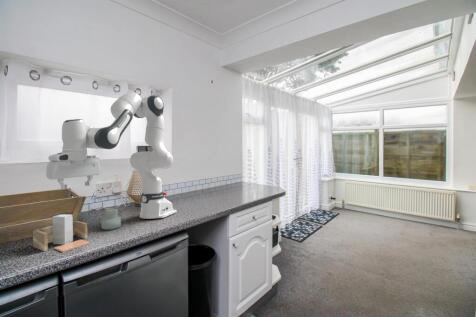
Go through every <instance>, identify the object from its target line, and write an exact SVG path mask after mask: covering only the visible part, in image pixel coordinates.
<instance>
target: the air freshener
mask: <svg viewBox="0 0 476 317" xmlns="http://www.w3.org/2000/svg"><path fill="white" fill-rule="evenodd" d="M121 226H122V217H121V216H119V210H118V208H114V207H113V208H107V209H105V210H104V218H102V220H101V229H102V230H105V231H110V230H111V231H113V230H115V229H119V228H120V227H121Z"/></svg>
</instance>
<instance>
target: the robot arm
mask: <svg viewBox="0 0 476 317" xmlns="http://www.w3.org/2000/svg"><path fill="white" fill-rule="evenodd" d="M164 108H165V105H164V102H163V99H162V98H161V97H160V96H159V95H153V94H152V95H149V96H145V97H142V98H141V96H140V95H139V94H138V93H136V92H134V91H129V92H126V93H124V94H123V95H121V96H119V97H118V98H117V99H116V100H115V101H114V102H113V103H112V104H111V106H110V113H111V115H112V117H113V118H114V120H113V121H112V123H111V124H110V125H108V126H104V127H94V126H92V125H90V124H88V123H87V122H86V121H85V120H84V119H80V118H77V119H76V118H75V119H66V120H64V121H63V123H62V124H61V141H62V147H61V152H58V153H55V154H51V155H49V156H48V162H47V165H46V169H45V170H46V171H45V172H46V173H45V175H46V178H47V179H48V180H56V181H57V182H58V184H59V185H60V189H61V190H67V189H68V185H67V184H65V183H64V181H65V179H71V178H79V177H80V178H81V177H86V178H87V179H86V181H84V186H85V187H89V186H91V181H93V178H94V176H99V175H100V174H102V173H101V172H102V171H101V170H102V169H101V164H100V158H99V156H97V155H88V149H102V150H103V149H104V150H112V149H115V148H116V147H117V146H118V144H119V142H120V140H121V138H122V135H123V133H124V132H125V131H126V129H127V128H128V127H129V125H130V124H131V123H132V121H133V118H134V117H135V118H136V119H143V118H145V119H146V122H147V123H146V126H145V127H146V128H145V135H144V141H145V143H146V145H148V146H150V148H152V151H146V150H145V151H137V152H133V153H132V154H131V156H130V158H129V163H130V166H131V167H132V168H133V169H134V170H135V171H136V172H137V173H138V175H139V177H140V179H141V186H142V187H141V188H142V189H141V190H142V193H141V208H140V214H139V218H140V219H164V218H167V217H169V216H170V215H173V214H176V213H177V209H174V208H173V203H172V202H171V201H170V200H168V199H167V198H166V197H165V196H167V195H168V192H166V191H164V192H163V189H162V188H163V181H162V180H163V179H162V178H161V177H159V176H158V175H156V174H155V172H154V170H159V171H160V170H163V171H164V170H167V169H171V168H172V166H173V164H174V156H173V155H172V153H171V152H169V151H168V150H167V147H166V145H165V131H166V130H165V129H166V121H165V117H164V116H163V113H164Z"/></svg>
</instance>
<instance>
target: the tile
mask: <svg viewBox="0 0 476 317" xmlns="http://www.w3.org/2000/svg"><path fill="white" fill-rule="evenodd" d="M90 244H91V242H89V241H87V240H84V239H78V240H75V241H74V240H73V241H72V242H70V243H68V244H64V245H62V244H60V245H59V246H54V247H53V249H54V250H56V251H59V252H61V253H65V252H68V251H71V250H76V249H78V248H81V247H84V246H87V245H90Z"/></svg>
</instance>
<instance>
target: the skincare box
mask: <svg viewBox="0 0 476 317" xmlns="http://www.w3.org/2000/svg"><path fill="white" fill-rule="evenodd" d="M73 216H74V215H73V214H57V215H54V216H52V226H53V242H52V244H53V245H64V244H68V243H71V242H74V236H73V221H74V220H73V219H74V218H73Z"/></svg>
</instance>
